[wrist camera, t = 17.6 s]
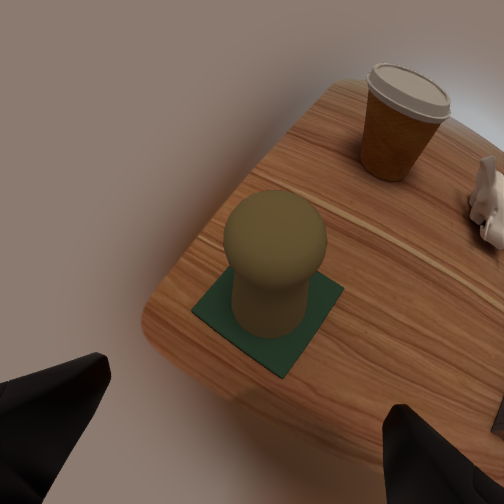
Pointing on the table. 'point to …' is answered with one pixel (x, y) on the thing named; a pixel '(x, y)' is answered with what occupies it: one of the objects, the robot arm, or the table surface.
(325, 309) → the coaster
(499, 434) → the holder
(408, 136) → the disposable coffee cup
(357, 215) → the table surface
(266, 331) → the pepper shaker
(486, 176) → the elephant figurine
